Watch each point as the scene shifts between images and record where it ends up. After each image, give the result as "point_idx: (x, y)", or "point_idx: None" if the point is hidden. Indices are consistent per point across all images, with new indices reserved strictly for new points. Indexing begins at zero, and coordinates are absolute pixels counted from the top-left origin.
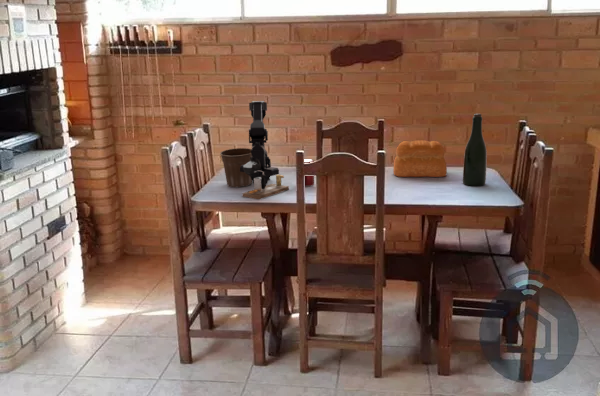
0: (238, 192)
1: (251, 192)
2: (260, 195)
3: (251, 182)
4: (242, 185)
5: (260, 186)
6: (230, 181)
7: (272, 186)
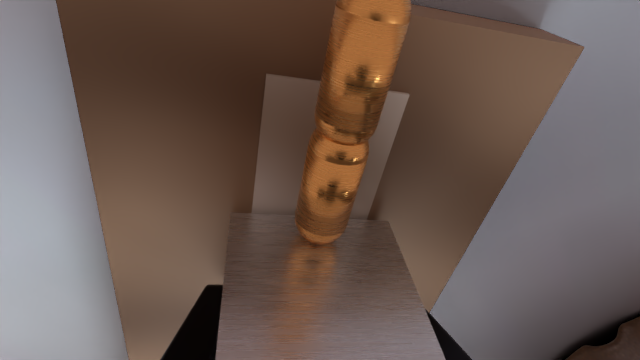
0: (630, 190)
1: (337, 3)
2: (86, 34)
3: None
4: (613, 344)
5: (237, 308)
6: None
7: None
